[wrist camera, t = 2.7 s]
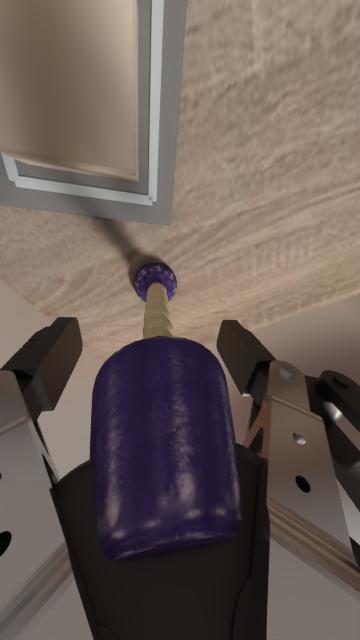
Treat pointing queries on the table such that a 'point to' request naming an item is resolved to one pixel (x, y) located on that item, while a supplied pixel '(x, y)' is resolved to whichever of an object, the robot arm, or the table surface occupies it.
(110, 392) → the toy lamp
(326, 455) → the robot arm
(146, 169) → the slate board
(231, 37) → the table surface
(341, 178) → the table surface
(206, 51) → the table surface
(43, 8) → the cream block
